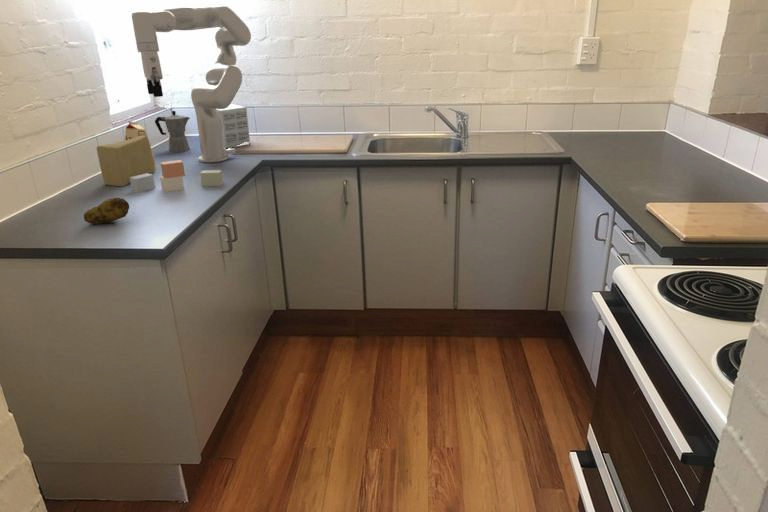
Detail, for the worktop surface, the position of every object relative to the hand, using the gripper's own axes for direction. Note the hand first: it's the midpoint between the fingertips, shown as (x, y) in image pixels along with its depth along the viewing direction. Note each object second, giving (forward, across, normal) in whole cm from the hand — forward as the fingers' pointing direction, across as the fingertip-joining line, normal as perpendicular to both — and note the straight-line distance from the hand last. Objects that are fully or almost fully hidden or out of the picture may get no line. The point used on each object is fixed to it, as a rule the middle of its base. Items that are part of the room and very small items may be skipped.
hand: (155, 95), depth 217 cm
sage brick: (+31, -27, -10) cm, 42 cm away
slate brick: (+30, -19, +13) cm, 38 cm away
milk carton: (+31, +12, +8) cm, 34 cm away
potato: (+31, -52, +29) cm, 67 cm away
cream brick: (+30, -25, +4) cm, 40 cm away
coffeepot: (+31, +40, -13) cm, 52 cm away
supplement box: (+31, +39, -38) cm, 62 cm away
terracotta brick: (+25, -26, +3) cm, 36 cm away
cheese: (+31, -1, +13) cm, 33 cm away
